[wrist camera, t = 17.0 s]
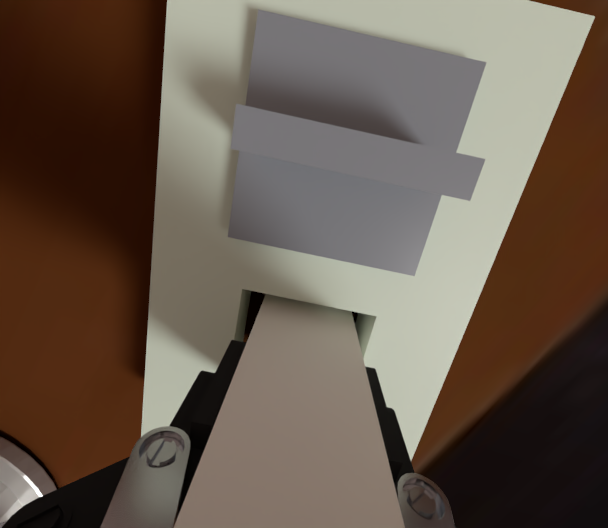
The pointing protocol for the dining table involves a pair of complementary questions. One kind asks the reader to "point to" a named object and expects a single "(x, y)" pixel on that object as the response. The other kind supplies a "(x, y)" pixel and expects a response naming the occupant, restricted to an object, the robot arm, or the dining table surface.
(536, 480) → the dining table surface
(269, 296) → the plug
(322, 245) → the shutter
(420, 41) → the socket board
